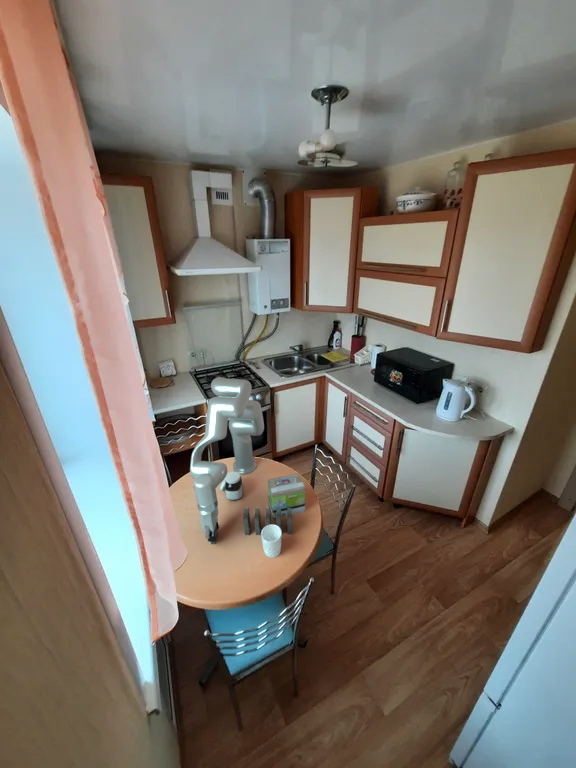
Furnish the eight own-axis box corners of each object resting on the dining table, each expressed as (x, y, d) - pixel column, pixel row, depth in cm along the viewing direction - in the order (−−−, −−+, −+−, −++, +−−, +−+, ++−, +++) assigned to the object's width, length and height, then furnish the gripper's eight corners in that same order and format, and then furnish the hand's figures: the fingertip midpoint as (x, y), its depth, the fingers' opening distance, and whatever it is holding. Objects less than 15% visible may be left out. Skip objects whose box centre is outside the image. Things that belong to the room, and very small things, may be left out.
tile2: (256, 524, 136) (254, 508, 131) (261, 524, 136) (259, 508, 131) (255, 535, 131) (253, 518, 127) (260, 534, 131) (258, 518, 127)
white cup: (271, 537, 130) (270, 521, 125) (286, 548, 125) (285, 531, 121) (258, 551, 124) (256, 534, 120) (273, 563, 120) (272, 546, 115)
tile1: (245, 525, 136) (243, 508, 131) (250, 524, 136) (248, 508, 131) (244, 535, 131) (242, 518, 127) (249, 535, 131) (247, 518, 127)
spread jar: (241, 502, 147) (239, 484, 142) (217, 502, 147) (214, 484, 142) (245, 484, 158) (243, 466, 153) (222, 484, 158) (220, 466, 153)
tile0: (212, 533, 132) (209, 516, 128) (217, 533, 132) (214, 516, 128) (210, 544, 128) (206, 527, 124) (215, 544, 128) (212, 527, 123)
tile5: (287, 524, 135) (286, 507, 131) (292, 524, 135) (291, 507, 131) (287, 534, 131) (286, 517, 127) (292, 534, 131) (291, 517, 127)
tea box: (273, 519, 138) (271, 495, 131) (268, 502, 147) (266, 478, 140) (305, 511, 141) (305, 487, 135) (299, 495, 150) (298, 471, 144)
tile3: (266, 524, 136) (265, 508, 131) (271, 524, 136) (270, 508, 131) (265, 534, 131) (264, 518, 127) (270, 534, 131) (269, 517, 127)
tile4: (276, 524, 136) (275, 508, 131) (281, 524, 136) (280, 508, 131) (276, 534, 131) (275, 517, 127) (281, 534, 131) (280, 517, 127)
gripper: (203, 486, 129) (209, 518, 137) (191, 521, 114) (199, 554, 122) (221, 486, 129) (226, 517, 137) (212, 521, 113) (218, 553, 121)
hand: (213, 534), depth 129 cm, fingers closed on tile0, 4 cm apart
